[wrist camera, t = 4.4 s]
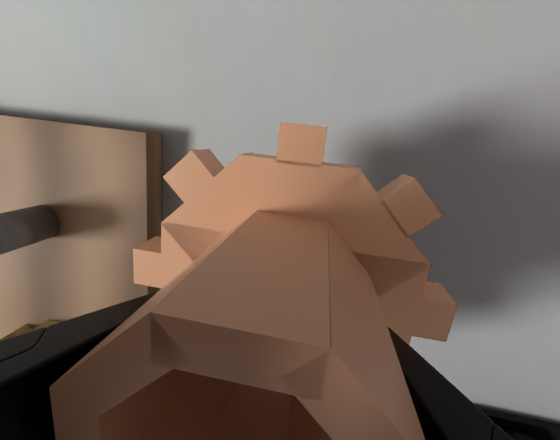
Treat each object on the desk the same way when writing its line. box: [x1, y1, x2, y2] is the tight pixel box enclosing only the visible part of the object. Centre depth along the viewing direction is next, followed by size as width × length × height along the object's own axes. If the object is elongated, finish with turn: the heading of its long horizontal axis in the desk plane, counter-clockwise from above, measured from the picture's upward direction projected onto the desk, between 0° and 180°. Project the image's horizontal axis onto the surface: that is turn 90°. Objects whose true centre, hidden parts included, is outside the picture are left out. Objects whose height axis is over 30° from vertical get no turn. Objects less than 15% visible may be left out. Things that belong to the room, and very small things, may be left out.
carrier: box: [0, 115, 162, 341], centre depth 17 cm, size 13×21×6 cm, turn 173°
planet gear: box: [49, 122, 457, 440], centre depth 8 cm, size 11×11×8 cm
